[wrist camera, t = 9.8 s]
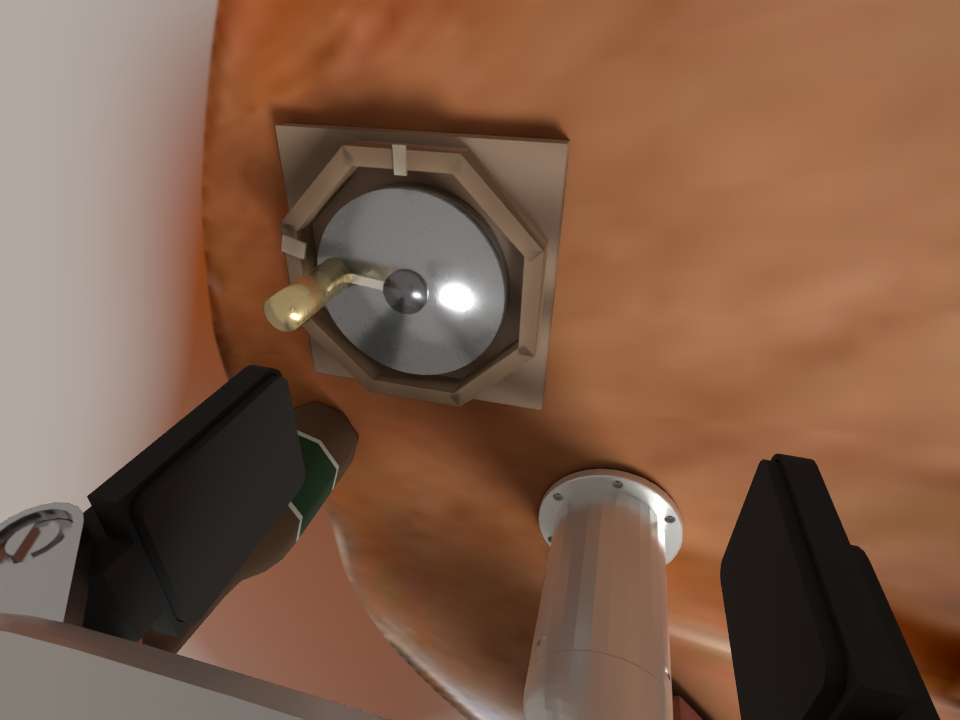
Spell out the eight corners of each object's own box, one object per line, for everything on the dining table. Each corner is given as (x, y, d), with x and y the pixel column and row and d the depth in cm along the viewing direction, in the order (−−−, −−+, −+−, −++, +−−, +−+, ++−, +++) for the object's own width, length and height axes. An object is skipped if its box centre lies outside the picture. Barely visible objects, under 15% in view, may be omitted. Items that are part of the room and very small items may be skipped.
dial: (525, 204, 35) (493, 248, 27) (495, 380, 42) (463, 452, 34) (328, 165, 37) (247, 195, 29) (332, 339, 44) (269, 399, 37)
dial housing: (543, 399, 44) (535, 428, 41) (323, 363, 48) (300, 387, 45) (569, 140, 34) (562, 150, 30) (287, 122, 38) (253, 129, 34)
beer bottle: (368, 466, 53) (203, 720, 33) (299, 457, 55) (105, 692, 35) (353, 402, 49) (157, 645, 29) (280, 395, 51) (50, 618, 31)
